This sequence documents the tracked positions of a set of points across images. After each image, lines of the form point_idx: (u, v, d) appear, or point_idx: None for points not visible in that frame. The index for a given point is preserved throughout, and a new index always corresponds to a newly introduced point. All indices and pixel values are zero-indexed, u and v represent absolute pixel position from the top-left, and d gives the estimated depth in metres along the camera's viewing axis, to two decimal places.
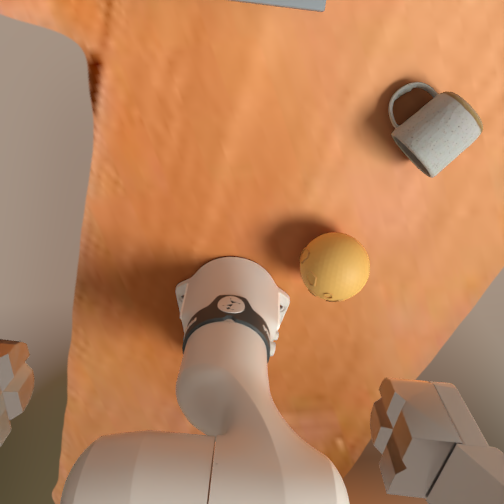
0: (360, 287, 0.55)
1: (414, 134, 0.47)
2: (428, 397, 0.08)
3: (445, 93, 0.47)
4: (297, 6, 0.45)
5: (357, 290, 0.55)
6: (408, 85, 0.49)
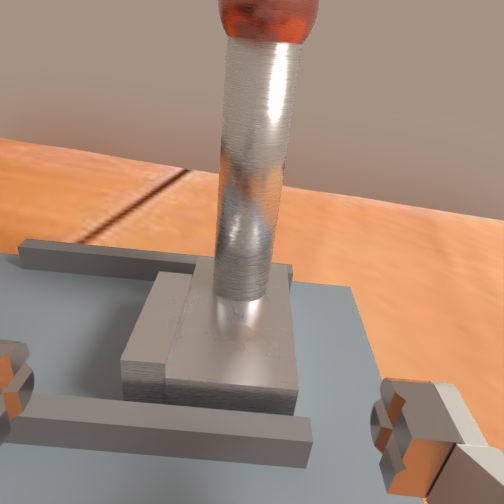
0: None
1: None
2: (428, 397, 0.08)
3: None
4: None
5: None
6: None
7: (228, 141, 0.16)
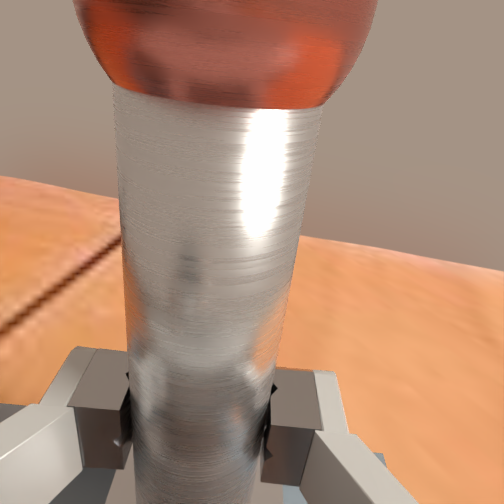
0: None
1: None
2: (303, 385, 0.08)
3: None
4: None
5: None
6: None
7: (134, 335, 0.06)
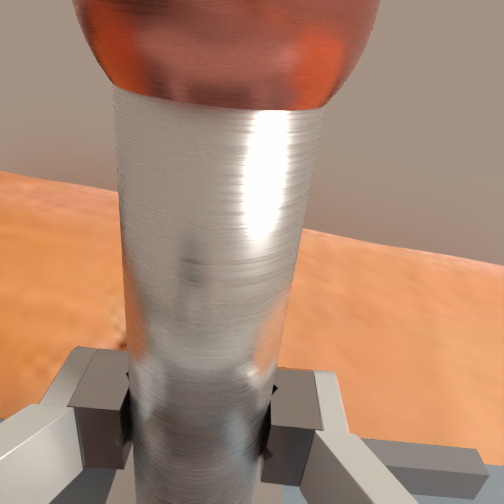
0: None
1: None
2: (303, 385, 0.08)
3: None
4: None
5: None
6: None
7: (134, 337, 0.06)
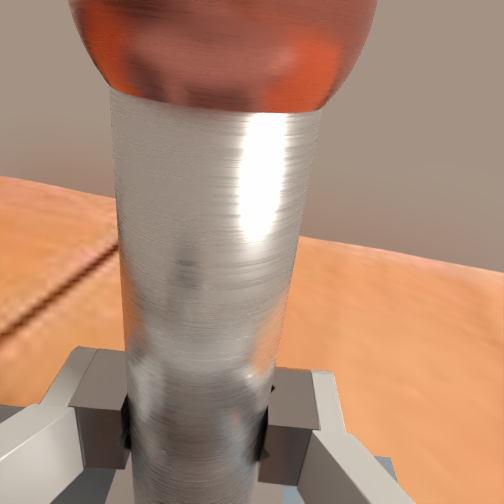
0: None
1: None
2: (300, 385, 0.08)
3: None
4: None
5: None
6: None
7: (131, 339, 0.06)
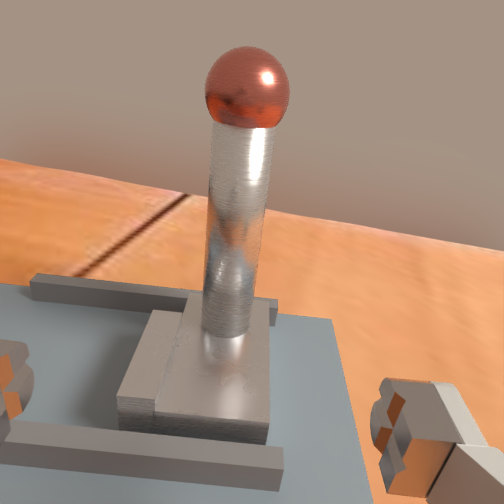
0: None
1: None
2: (428, 397, 0.08)
3: None
4: None
5: None
6: None
7: (213, 204, 0.18)
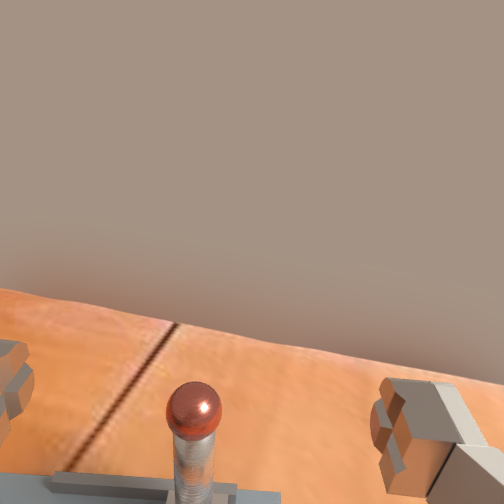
0: None
1: None
2: (428, 397, 0.08)
3: None
4: None
5: None
6: None
7: (176, 471, 0.27)
